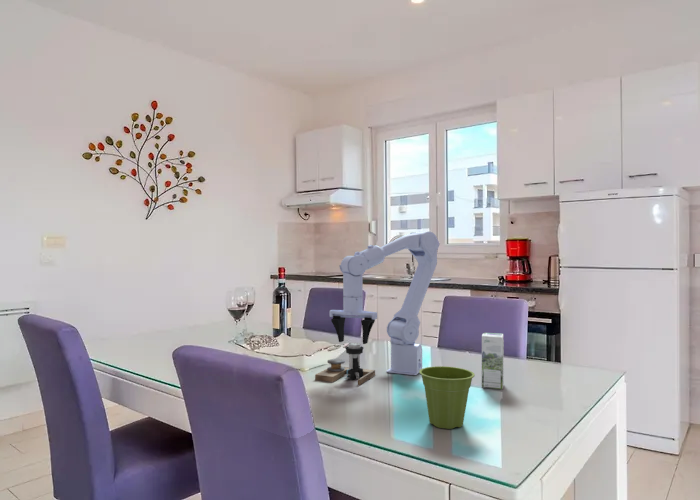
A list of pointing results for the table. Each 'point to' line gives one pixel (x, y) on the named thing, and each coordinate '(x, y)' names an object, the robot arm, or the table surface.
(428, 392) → the plant pot
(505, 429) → the table surface
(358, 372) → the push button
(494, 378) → the syrup box
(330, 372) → the notched board
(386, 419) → the table surface
